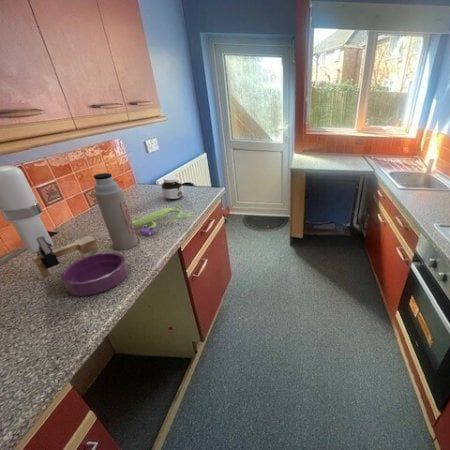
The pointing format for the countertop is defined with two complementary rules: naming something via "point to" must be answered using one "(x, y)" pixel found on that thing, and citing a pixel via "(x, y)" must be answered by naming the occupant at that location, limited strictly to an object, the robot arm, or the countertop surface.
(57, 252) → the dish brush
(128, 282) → the countertop surface
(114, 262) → the bowl
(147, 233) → the figurine
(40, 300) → the countertop surface
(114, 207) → the thermos bottle
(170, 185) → the spread jar
